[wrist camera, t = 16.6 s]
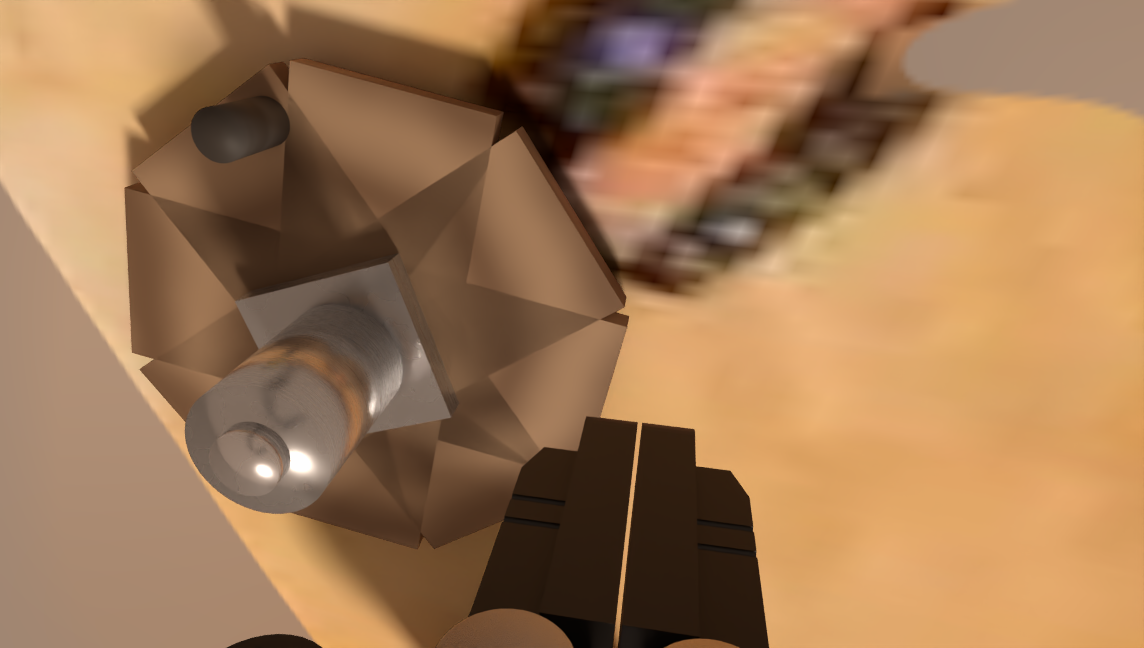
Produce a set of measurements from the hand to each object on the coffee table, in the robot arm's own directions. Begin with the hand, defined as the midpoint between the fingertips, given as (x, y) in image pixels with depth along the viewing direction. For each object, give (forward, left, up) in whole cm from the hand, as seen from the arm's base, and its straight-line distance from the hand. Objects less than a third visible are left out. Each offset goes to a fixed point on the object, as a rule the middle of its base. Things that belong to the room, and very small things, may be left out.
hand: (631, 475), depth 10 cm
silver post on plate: (-2, -20, -24) cm, 31 cm away
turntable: (-2, -19, -26) cm, 32 cm away
